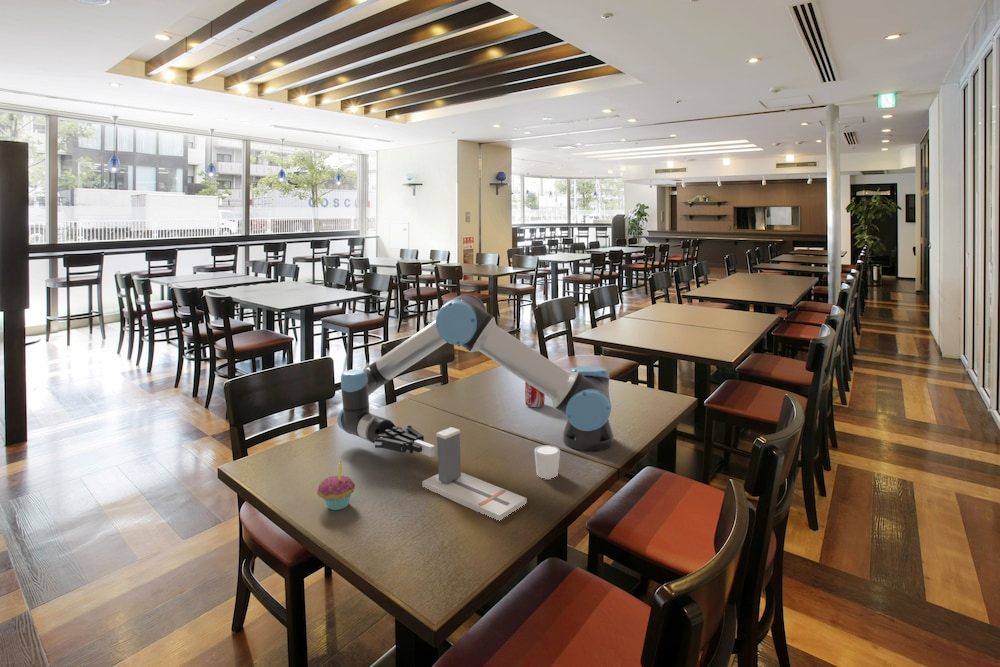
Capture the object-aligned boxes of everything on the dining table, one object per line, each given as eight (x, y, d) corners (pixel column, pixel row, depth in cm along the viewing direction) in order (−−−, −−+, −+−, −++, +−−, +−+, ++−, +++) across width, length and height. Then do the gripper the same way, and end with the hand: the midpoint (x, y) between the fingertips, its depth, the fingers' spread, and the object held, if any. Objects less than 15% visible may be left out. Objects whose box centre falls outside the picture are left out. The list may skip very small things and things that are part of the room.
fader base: (422, 486, 140) (422, 480, 140) (450, 472, 148) (450, 467, 147) (499, 521, 124) (499, 514, 123) (526, 504, 131) (526, 497, 131)
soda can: (543, 409, 196) (543, 376, 193) (523, 408, 197) (523, 376, 194) (545, 402, 202) (545, 371, 200) (526, 401, 204) (526, 370, 201)
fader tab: (438, 480, 139) (436, 433, 137) (452, 473, 143) (451, 427, 141) (446, 484, 137) (445, 436, 135) (461, 476, 141) (460, 429, 139)
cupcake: (362, 499, 134) (359, 454, 132) (342, 517, 126) (338, 469, 124) (333, 494, 137) (329, 449, 134) (311, 511, 129) (306, 464, 127)
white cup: (532, 469, 149) (532, 445, 148) (557, 468, 149) (557, 444, 148) (536, 481, 142) (536, 456, 141) (562, 479, 143) (562, 454, 141)
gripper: (395, 435, 163) (451, 456, 148) (358, 449, 154) (414, 473, 138) (394, 411, 162) (450, 430, 146) (357, 424, 152) (412, 445, 137)
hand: (432, 451), depth 142 cm, fingers closed
